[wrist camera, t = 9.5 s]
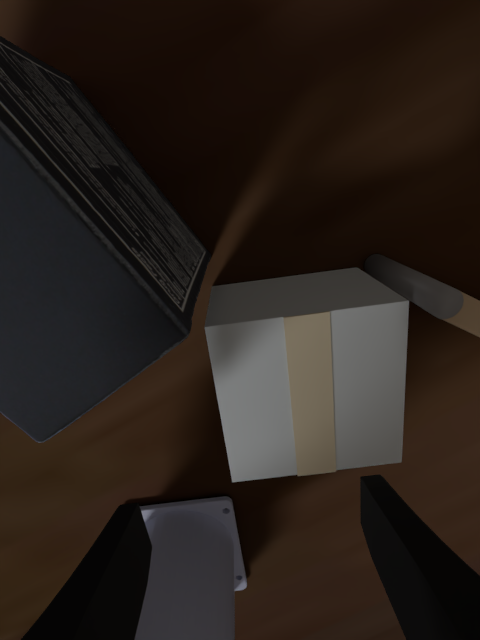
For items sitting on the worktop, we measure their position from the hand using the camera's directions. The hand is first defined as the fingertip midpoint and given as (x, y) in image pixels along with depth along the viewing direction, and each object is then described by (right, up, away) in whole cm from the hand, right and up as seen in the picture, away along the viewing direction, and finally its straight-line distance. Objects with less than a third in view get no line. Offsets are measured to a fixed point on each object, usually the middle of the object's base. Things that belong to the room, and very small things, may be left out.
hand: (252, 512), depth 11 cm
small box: (-7, +12, +7) cm, 15 cm away
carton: (+3, +5, +9) cm, 11 cm away
